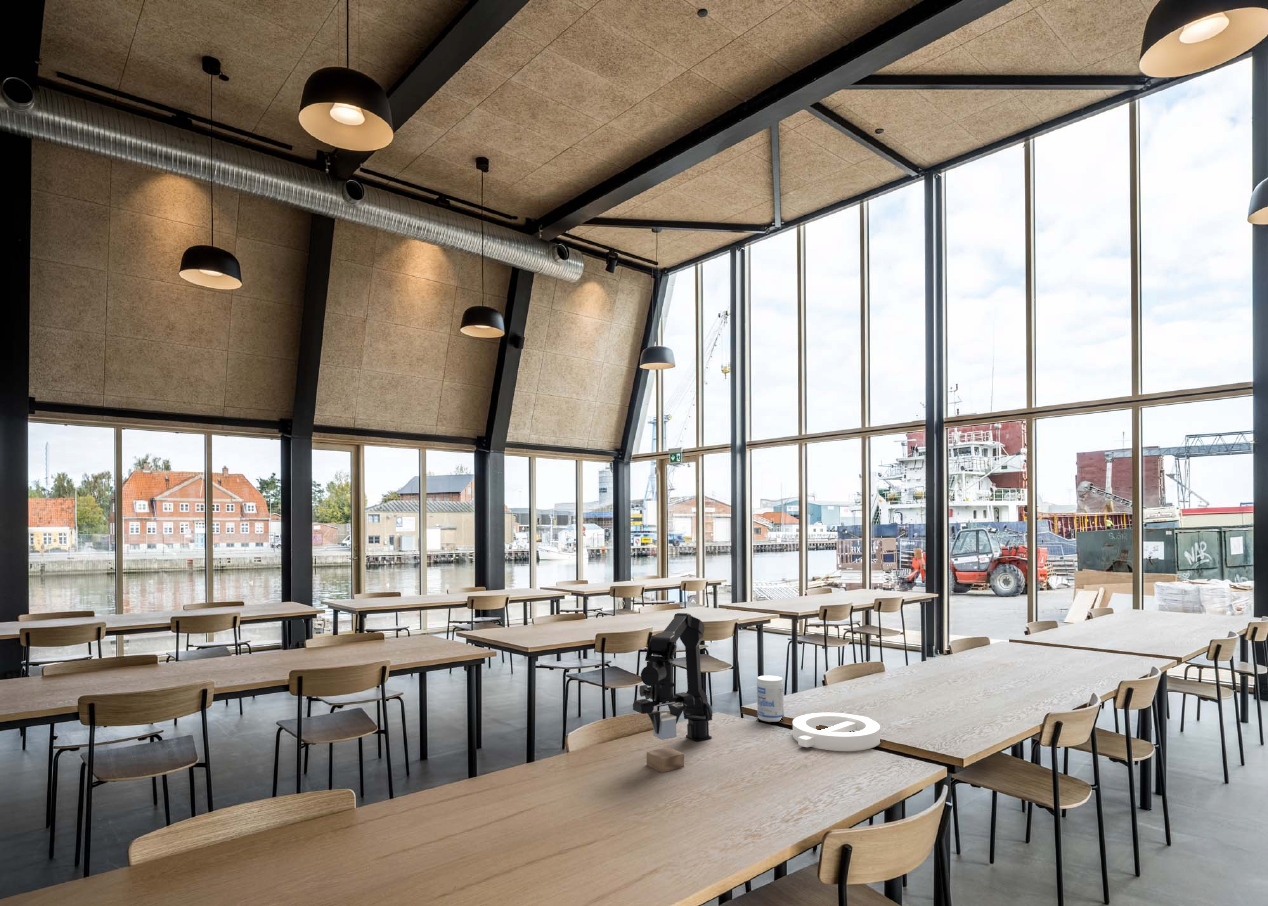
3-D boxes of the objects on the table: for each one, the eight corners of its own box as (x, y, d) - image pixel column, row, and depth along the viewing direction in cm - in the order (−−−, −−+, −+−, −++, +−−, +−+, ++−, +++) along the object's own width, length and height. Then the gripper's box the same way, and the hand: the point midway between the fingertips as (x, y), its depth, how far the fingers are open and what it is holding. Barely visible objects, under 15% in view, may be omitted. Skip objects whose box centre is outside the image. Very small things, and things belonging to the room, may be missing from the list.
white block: (667, 732, 215) (667, 712, 216) (676, 737, 211) (676, 716, 212) (653, 735, 213) (652, 715, 213) (662, 740, 208) (661, 719, 209)
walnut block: (668, 760, 217) (668, 746, 217) (684, 767, 210) (683, 753, 210) (646, 765, 212) (646, 751, 213) (662, 773, 206) (661, 758, 206)
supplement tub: (755, 721, 256) (754, 679, 257) (760, 714, 264) (758, 674, 266) (782, 723, 252) (780, 681, 254) (786, 716, 261) (784, 675, 263)
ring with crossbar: (869, 726, 247) (868, 712, 248) (890, 752, 220) (889, 736, 220) (788, 726, 250) (787, 712, 251) (798, 751, 222) (798, 736, 223)
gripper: (674, 670, 225) (676, 720, 224) (623, 678, 216) (624, 730, 214) (694, 676, 216) (696, 729, 214) (641, 684, 206) (643, 740, 205)
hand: (664, 732), depth 212 cm, fingers closed on white block, 5 cm apart
